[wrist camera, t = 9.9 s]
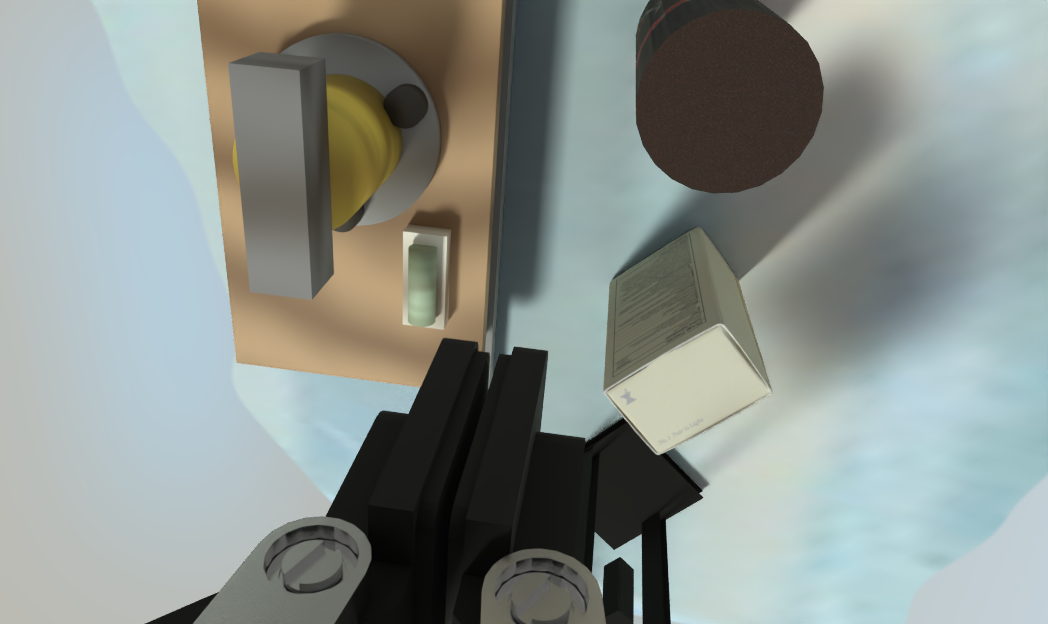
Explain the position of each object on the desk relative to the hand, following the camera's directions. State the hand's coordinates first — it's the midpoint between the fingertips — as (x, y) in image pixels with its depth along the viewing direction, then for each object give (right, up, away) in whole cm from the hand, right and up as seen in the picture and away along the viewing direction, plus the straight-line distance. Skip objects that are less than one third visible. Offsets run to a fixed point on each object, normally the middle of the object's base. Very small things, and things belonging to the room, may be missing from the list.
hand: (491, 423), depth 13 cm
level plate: (-8, +8, +28) cm, 30 cm away
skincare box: (+9, +4, +32) cm, 34 cm away
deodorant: (+9, +15, +26) cm, 32 cm away
